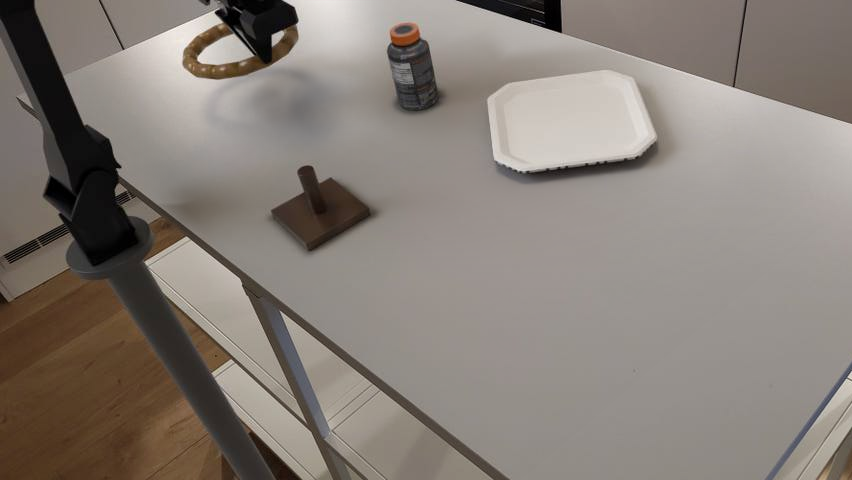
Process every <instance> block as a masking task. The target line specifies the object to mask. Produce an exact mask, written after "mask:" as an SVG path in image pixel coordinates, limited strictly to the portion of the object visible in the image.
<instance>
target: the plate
mask: <svg viewBox="0 0 852 480" xmlns="http://www.w3.org/2000/svg"><path fill="white" fill-rule="evenodd" d="M637 83H638V82H637V81H636V79H635V78H634V77H632V76H629V75H627V74H623V73H620V72H617V71H614V70H611V69H601V70H594V71H587V72H580V73H572V74H571V73H570V74H565V75H558V76H557V75H556V76H549V77H542V78H533V79H528V80H519V81H513V82H509V83H506V84H505V85H503V86H502V87H500V88H499V89H497V90H496V91H494V92H493V93H492V94H491V95H489V96H488V98H487V99H486V103H487V112H488V120H489V129H490V138H491V147H492V155H493V157H492V158H493V160H494V162H495V163H496V164H497V165H499V166H502V167H505V168H507V169H509V170H512V171H514V172H516V173H518V174H531V173H538V172H545V171H552V170H553V171H555V170H560V169H561V170H562V169H569V168H576V167H577V168H578V167H586V166H592V165H600V164H606V163H607V164H608V163H616V162H623V161H630V160H631V161H632V160H636V159H639V158H641V156H642V155H644V154H645V153H646V152H647V151H648V150H649V149H650V148H652V147H653V146H654V145H655V144H656V143H657V142H658V135H657V132H656V129H655V126H654V124H653V122H652V119H651V116H650V113H649V111H648V109H647V106H646V103H645V101H644V98H643V96H642V94H641V91H640V88H639V86H638V84H637Z"/></svg>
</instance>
